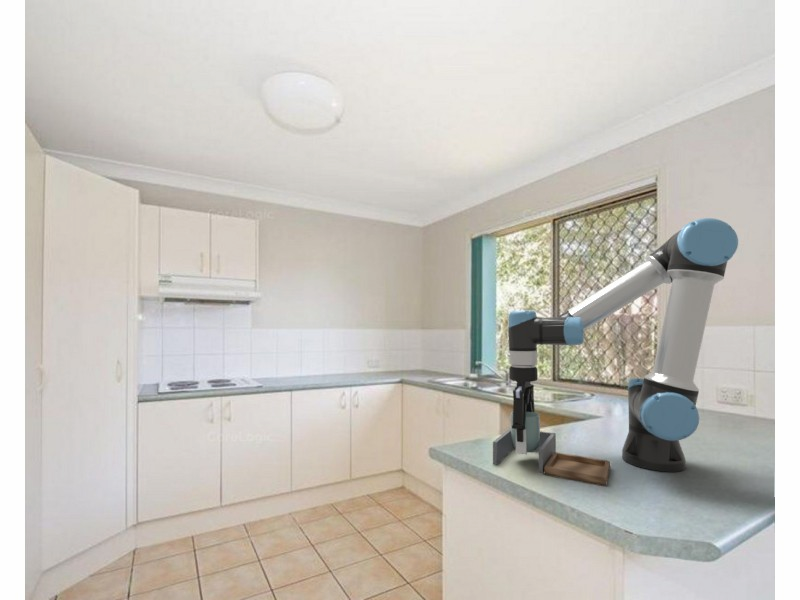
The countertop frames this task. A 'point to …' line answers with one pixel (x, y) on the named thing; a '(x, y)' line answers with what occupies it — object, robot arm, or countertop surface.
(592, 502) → the countertop surface
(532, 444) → the cup
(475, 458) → the countertop surface
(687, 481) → the countertop surface
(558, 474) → the tray
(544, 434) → the bay
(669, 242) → the robot arm
